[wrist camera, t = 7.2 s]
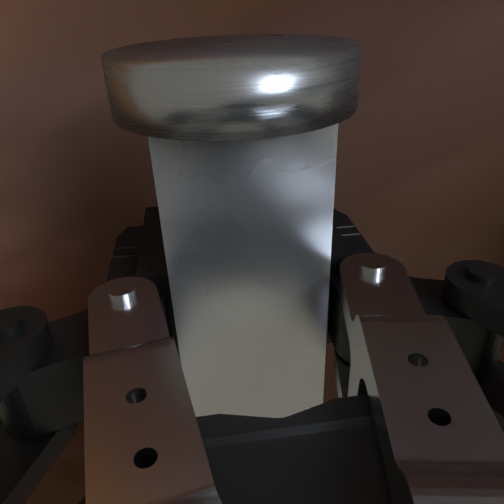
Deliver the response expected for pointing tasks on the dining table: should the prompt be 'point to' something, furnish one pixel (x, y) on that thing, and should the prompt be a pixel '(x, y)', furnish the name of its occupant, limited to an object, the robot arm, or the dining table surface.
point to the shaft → (243, 203)
